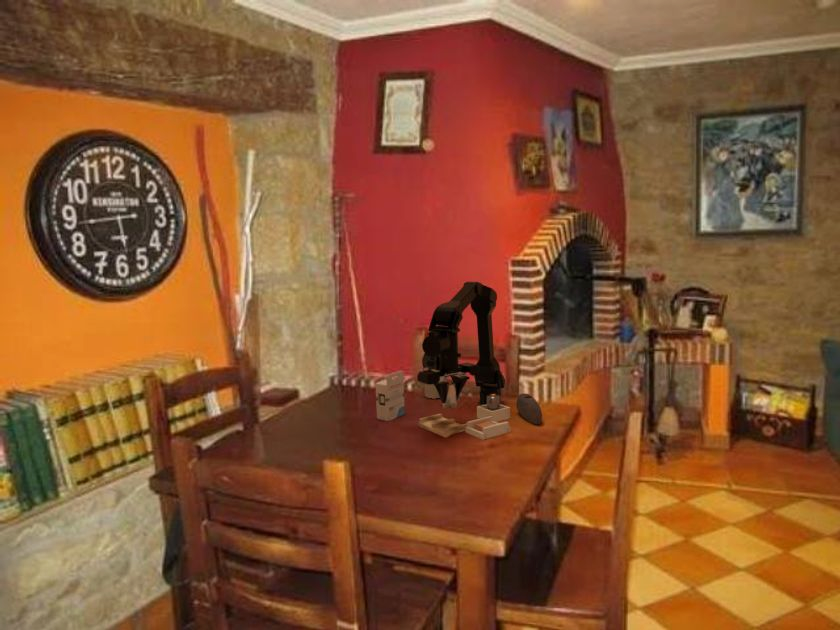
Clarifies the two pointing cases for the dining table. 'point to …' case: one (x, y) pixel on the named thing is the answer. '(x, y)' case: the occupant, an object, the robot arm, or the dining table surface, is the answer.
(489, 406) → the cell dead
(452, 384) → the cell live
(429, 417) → the troughs
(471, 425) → the cradle
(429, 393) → the travel mug
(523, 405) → the perforated stone tool
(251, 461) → the dining table surface
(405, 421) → the dining table surface
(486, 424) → the pad
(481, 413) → the bin
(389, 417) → the ink box
